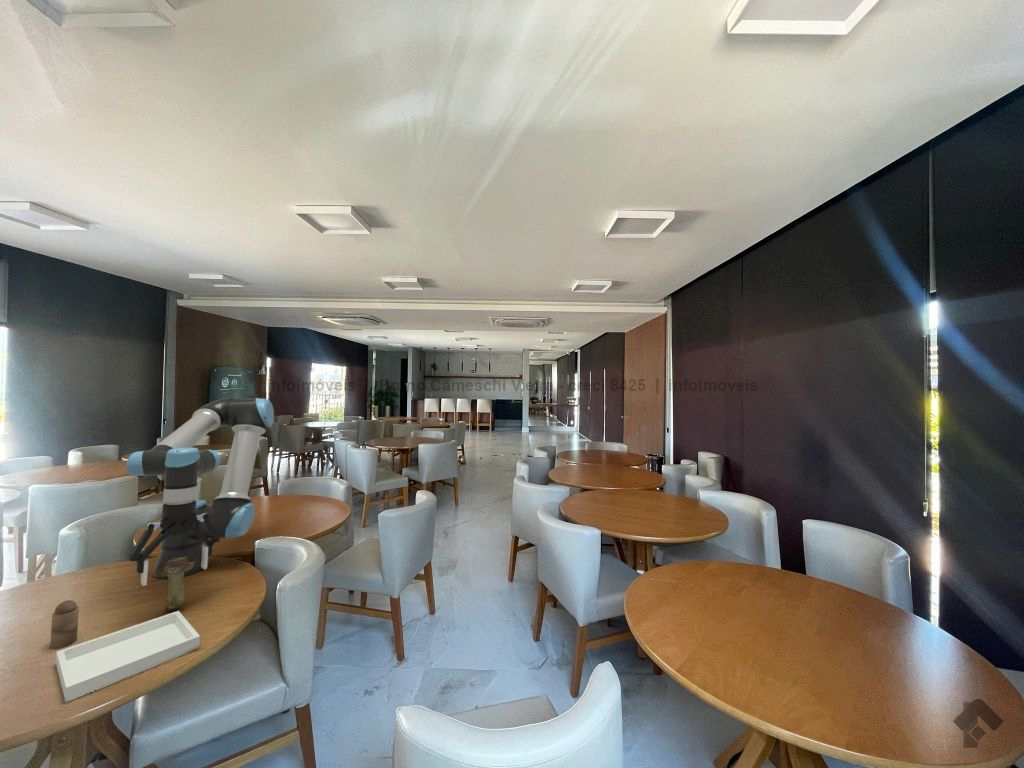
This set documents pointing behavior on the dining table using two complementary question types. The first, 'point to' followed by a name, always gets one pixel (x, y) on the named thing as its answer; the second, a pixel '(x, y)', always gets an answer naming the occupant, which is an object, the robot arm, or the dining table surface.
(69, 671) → the tray
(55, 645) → the pepper mill
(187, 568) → the mushroom
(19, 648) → the dining table surface
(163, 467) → the robot arm
